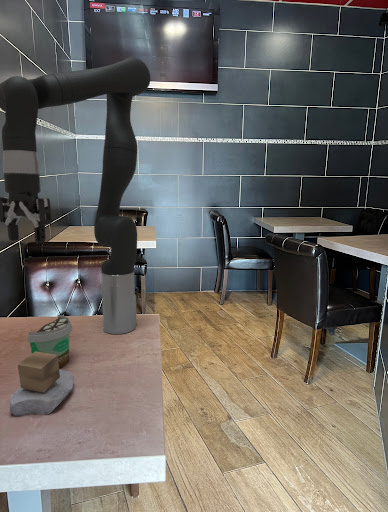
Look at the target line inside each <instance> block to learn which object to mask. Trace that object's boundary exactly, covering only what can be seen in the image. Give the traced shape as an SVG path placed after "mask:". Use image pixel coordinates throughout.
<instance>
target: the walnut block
mask: <svg viewBox="0 0 388 512" xmlns="http://www.w3.org/2000/svg"><path fill="white" fill-rule="evenodd" d="M17 369H18V375H19V376H18V377H19V383H20V385H21V388H23V389H28V390H33V391H38V392H43V393H44V392H45V391H46V390H47V389H48V388H49V387H50V386H51V385H52V384H53V383H54V382H56V381H57V380H58V379H59V378H60V373H59V363H58V355H55V354H49V353H43V352H37V351H35V352H34V353H33V354H32V353H31V354H30V355H28V357H26V358H25V359H23V360H22V361H21V362H19V363H18V364H17ZM20 385H19V386H20Z"/></svg>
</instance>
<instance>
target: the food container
mask: <svg viewBox="0 0 388 512" xmlns="http://www.w3.org/2000/svg"><path fill="white" fill-rule="evenodd" d="M72 330H73V325H72V321H71V320H70V318H69V317H68V316H64V315H61V314H57V318H56V319H55V320H53V321H50V322H48V323H47V324H44V325H42V327H41V328H40V329H38V330H37V331H36V332H35V331H33V332H31V331H28V336H27V342H28V343H29V345H30V351H31V354H33V353H34V352H35V351H37V352H43V353H49V354H55V355H58V363H59V369H60V370H61V369H62V368H64V367H65V366H66V365H68V364H69V361H70V360H69V359H70V357H69V355H70V334H71V332H72Z"/></svg>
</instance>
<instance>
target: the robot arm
mask: <svg viewBox="0 0 388 512" xmlns="http://www.w3.org/2000/svg"><path fill="white" fill-rule="evenodd" d="M150 83H151V72H150V69H149V67H148V66H147V64H146V63H145V62H144V61H143V60H142V59H139V58H137V57H127V58H123V59H122V60H120V61H118V62H116V63H113V64H110V65H104V66H101V67H96V68H89V69H80V70H71V71H61V72H53V73H46V74H42V75H40V76H37V77H35V78H30V79H28V78H26V77H25V76H20V75H14V76H10V77H9V78H7V79H5V80H4V81H2V82H1V83H0V110H2V111H3V112H4V113H5V122H4V124H3V126H2V128H1V145H2V170H3V172H2V173H3V182H4V191H5V192H6V193H7V194H8V196H1V197H0V222H1V223H4V224H5V225H6V226H7V233H8V234H7V237H8V240H9V241H10V242H16V241H19V239H20V235H19V225H18V223H19V220H20V219H21V218H22V217H26V218H27V219H28V220H29V221H31V222H32V224H33V226H34V227H33V228H34V229H33V230H34V240H35V243H36V244H43V243H45V241H46V237H47V236H46V226H48V225H51V224H52V223H53V220H52V209H51V201H50V198H49V197H42V198H40V197H39V193H41V176H40V164H39V158H38V157H39V156H38V150H37V149H38V148H37V138H36V137H37V136H36V129H37V123H38V115H39V114H38V113H39V110H41V109H45V108H50V107H60V106H65V105H72V104H75V103H76V104H77V103H80V102H83V101H86V100H91V99H93V98H95V97H96V98H97V97H100V96H104V95H106V119H105V129H104V131H105V134H104V145H103V152H102V153H103V154H102V155H103V156H102V170H101V171H102V172H101V180H100V181H101V182H100V189H99V190H100V191H99V198H98V203H97V209H96V215H95V220H94V227H93V228H94V229H93V232H94V233H93V234H94V239H95V240H96V242H97V244H99V245H100V246H101V247H105V248H108V249H109V248H110V249H111V250H110V251H111V253H110V258H109V259H106V260H104V261H103V262H101V264H100V266H101V267H100V268H101V269H100V271H101V272H100V273H101V294H102V300H101V301H102V323H103V324H102V327H103V331H104V332H105V333H108V334H113V335H121V334H127V333H130V332H132V331H134V330H135V328H136V325H138V324H137V295H136V294H135V291H136V290H135V265H136V262H137V258H138V257H137V256H138V254H137V253H138V229H137V225H136V223H135V221H134V220H133V218H131V217H129V216H123V215H120V210H121V203H122V198H123V196H124V193H125V192H126V190H127V188H128V187H129V185H130V183H131V181H132V180H133V177H134V175H135V173H136V169H137V160H138V143H137V138H136V135H135V132H134V130H133V126H132V121H131V110H132V101H133V98H134V97H136V96H139V95H142V93H144V92H145V91H146V90H148V88H149V86H150ZM5 213H6V214H5Z"/></svg>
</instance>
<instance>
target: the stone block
mask: <svg viewBox="0 0 388 512" xmlns="http://www.w3.org/2000/svg"><path fill="white" fill-rule="evenodd" d="M59 373H60V378H59V379H58V380H57V381H56V382H54V383H53V384H52V385H51V386H50V387H49V388H48V389H47V390H46V391H45V392H44V393H43V392H38V391H33V390H28V389H23V388H21V385H19V387H18V389H17V390H16V391H15V392H14V393H12V394H11V396H10V398H9V412H10V413H11V414H12V416H14V417H18V416H19V417H21V416H22V417H23V416H24V417H25V416H31V415H50V414H51V413H53V412H54V411H55V409H56V408H57V407H58V406H59V405H60V404H61V403H62V402H63V401H65V400H66V398H67V397H68V396H69V395H70V393H72V391H73V390H74V375H73V373H72V372H71V371H69V370H66V369H61V368H60V369H59Z"/></svg>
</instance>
